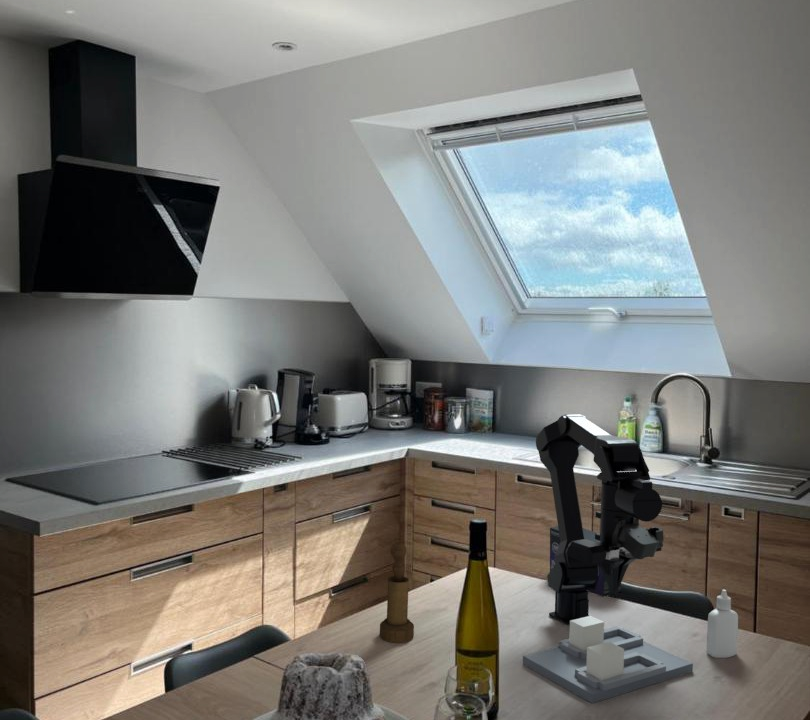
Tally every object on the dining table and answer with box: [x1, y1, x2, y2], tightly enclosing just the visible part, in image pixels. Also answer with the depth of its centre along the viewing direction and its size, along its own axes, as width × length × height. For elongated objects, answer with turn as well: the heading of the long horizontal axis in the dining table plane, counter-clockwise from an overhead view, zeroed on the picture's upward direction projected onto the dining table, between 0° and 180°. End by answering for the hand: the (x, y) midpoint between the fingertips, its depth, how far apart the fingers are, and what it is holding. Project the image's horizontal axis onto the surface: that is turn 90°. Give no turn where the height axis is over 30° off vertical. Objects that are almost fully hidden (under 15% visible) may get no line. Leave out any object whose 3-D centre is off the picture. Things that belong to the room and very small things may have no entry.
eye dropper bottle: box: [706, 589, 739, 659], centre depth 153 cm, size 4×6×12 cm
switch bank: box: [522, 626, 694, 704], centre depth 147 cm, size 17×24×2 cm
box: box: [549, 525, 622, 597], centre depth 192 cm, size 17×7×12 cm, turn 33°
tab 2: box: [586, 642, 624, 681], centre depth 139 cm, size 4×5×5 cm
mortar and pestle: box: [379, 541, 415, 644], centre depth 158 cm, size 7×6×18 cm
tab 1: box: [568, 615, 605, 651], centre depth 151 cm, size 4×5×5 cm
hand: (613, 592), depth 154 cm, fingers closed
